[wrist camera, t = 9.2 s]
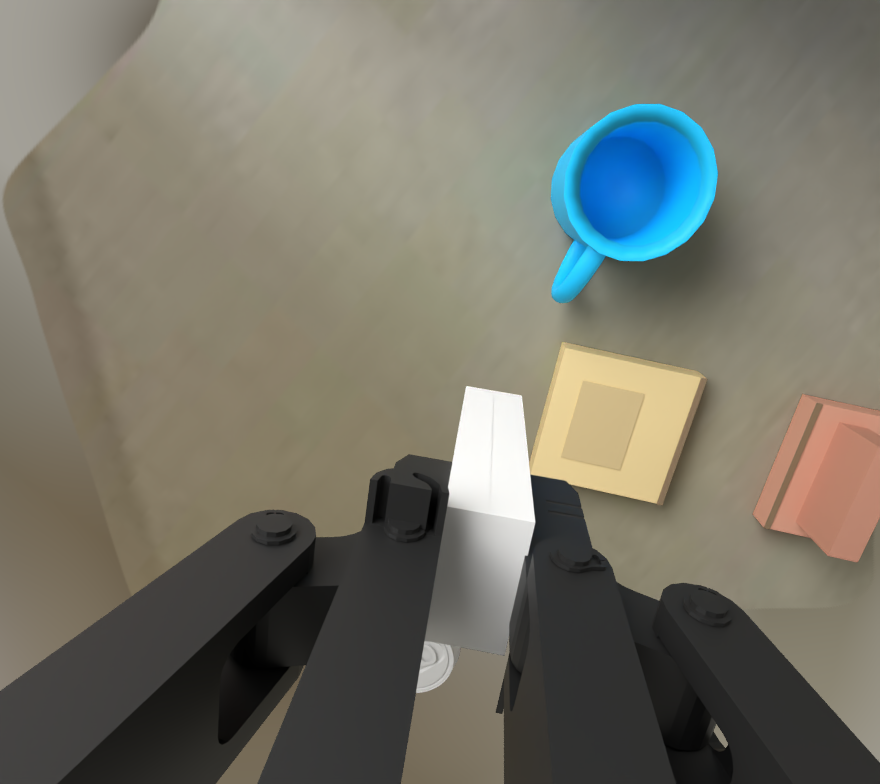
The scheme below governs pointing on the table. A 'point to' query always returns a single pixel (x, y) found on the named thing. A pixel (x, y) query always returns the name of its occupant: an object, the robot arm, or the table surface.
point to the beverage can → (436, 665)
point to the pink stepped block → (826, 477)
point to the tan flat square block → (615, 422)
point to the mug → (630, 190)
